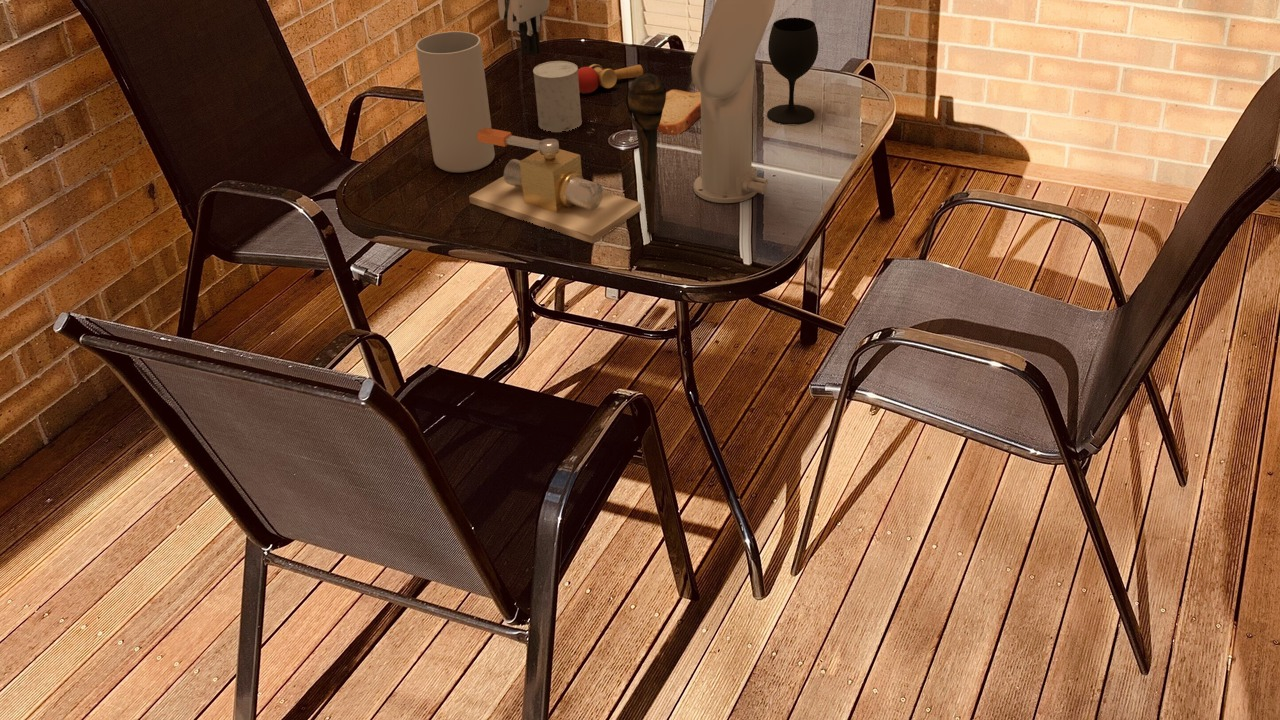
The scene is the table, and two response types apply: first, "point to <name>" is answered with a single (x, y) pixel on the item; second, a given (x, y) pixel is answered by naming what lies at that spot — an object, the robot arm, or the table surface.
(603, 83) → the kendama
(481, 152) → the cylinder vase
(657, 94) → the decorative torch
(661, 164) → the table surface
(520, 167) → the valve body
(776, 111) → the wine glass
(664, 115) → the bread slice
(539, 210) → the mounting board
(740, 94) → the robot arm
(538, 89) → the grey stone cylinder
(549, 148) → the valve lever
